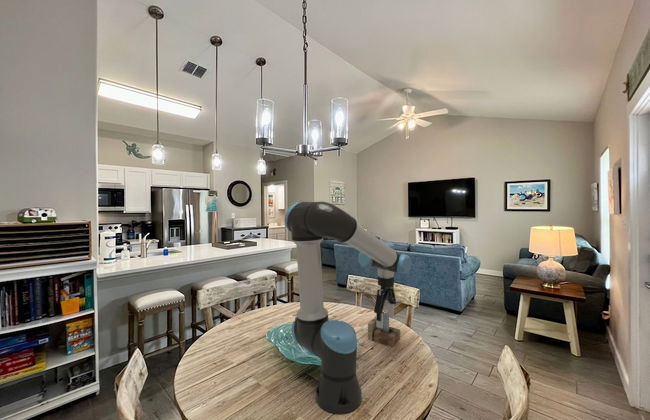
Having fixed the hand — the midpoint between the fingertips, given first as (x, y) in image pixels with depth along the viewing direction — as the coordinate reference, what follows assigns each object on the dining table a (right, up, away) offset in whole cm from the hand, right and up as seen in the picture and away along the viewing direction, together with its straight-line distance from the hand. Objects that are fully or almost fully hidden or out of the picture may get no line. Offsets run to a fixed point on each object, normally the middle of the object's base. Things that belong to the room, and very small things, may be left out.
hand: (385, 322), depth 127 cm
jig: (+1, -9, 0) cm, 9 cm away
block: (+1, -8, 0) cm, 8 cm away
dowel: (0, -8, 0) cm, 8 cm away
